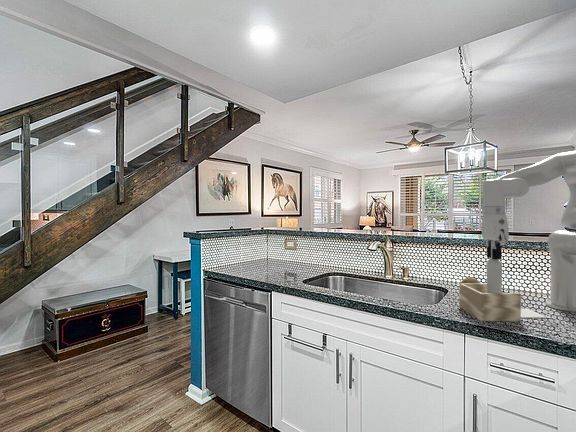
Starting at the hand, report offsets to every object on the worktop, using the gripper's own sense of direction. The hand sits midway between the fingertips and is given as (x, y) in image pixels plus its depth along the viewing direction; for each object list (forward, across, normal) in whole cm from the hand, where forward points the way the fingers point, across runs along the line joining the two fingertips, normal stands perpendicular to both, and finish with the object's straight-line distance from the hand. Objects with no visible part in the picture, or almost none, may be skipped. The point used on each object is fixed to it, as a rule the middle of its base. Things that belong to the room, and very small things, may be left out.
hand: (494, 258), depth 123 cm
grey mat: (+22, 0, -11) cm, 25 cm away
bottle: (+18, 0, 0) cm, 18 cm away
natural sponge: (+22, +19, -1) cm, 29 cm away
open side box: (+22, 0, +2) cm, 22 cm away
